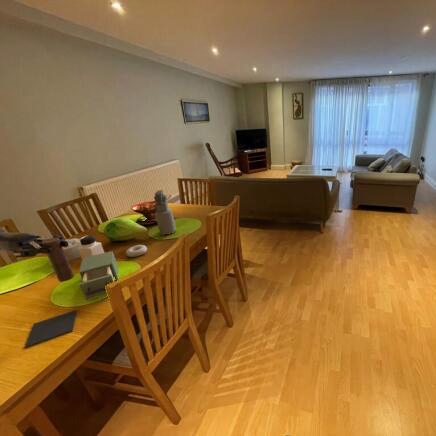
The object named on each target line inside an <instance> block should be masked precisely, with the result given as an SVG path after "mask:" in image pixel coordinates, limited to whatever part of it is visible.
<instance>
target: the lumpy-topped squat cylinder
mask: <svg viewBox="0 0 436 436" xmlns="http://www.w3.org/2000/svg"><path fill="white" fill-rule="evenodd" d="M80 239H81V238H76V237H75V238H74V237H73V238H68V239H64V240H65V241H67V242H68V245H69V246H67V247H63V250H64V252H65V255H66V257H67V259H68V262H69V263H70V262H72V261H74V260H77V259H78V258H81V255H80V253H79V250H78V248H79V247H81V246H82V245H81V242H80Z"/></svg>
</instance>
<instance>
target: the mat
mask: <svg viewBox="0 0 436 436" xmlns="http://www.w3.org/2000/svg"><path fill="white" fill-rule="evenodd" d="M77 311H78V310H77V309H74V310H71V311H68V312H65V313H62V314H59V315H55V316H53V317H50V318H47V319H43V320H40V321H38V322H34V323H33V324H32V327H31V330H30V332H29V334H28V337H27V340H26V342H25V345H24V348H25V349H27V348H29V347H33V346H35V345H38V344H41V343H43V342H46V341H49V340H52V339H55V338H58V337H60V336H64V335H66V334H69V333H72V332H73V331H74V326H75V322H76V316H77Z"/></svg>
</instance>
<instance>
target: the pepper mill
mask: <svg viewBox="0 0 436 436" xmlns="http://www.w3.org/2000/svg"><path fill="white" fill-rule="evenodd" d="M49 238H50V239H46V240H44V241H42V244H43V247H51V248H52V250H53V253H52V254H46V255H47V258H48V261H49V262H50V265H51V267H52V269H53V271H54V274H55V276H56V279H57V280H58V282H60V283H64V282H67V281H70V280H72V279H73V278H74V277H75V274H74V271H73V269H72V266H71V264H70V261H69V262H68V259H67V257H66V255H65V252H64V250H63V247H62V245H61V242H60V240H59V238H51V237H49Z"/></svg>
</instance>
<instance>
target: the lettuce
mask: <svg viewBox="0 0 436 436" xmlns="http://www.w3.org/2000/svg"><path fill="white" fill-rule="evenodd" d="M135 222H136V221H134V220H133V219H130V218H128V217H120V218H117V219H112V220H110V221H109V222H108V223H107V224H106V225H105V226H104V230H103V235H104V236H105V237H106V238H107V239H108V240H109V241H111V242H114V243H116V242H117V243H118V242H125V241H130V240H133V239H135V238H136V237H138V236H139V235H141V234H144V233H146V232H147V231H148V228H146V227H145V226H142V225H141V224H137V223H135Z"/></svg>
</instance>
